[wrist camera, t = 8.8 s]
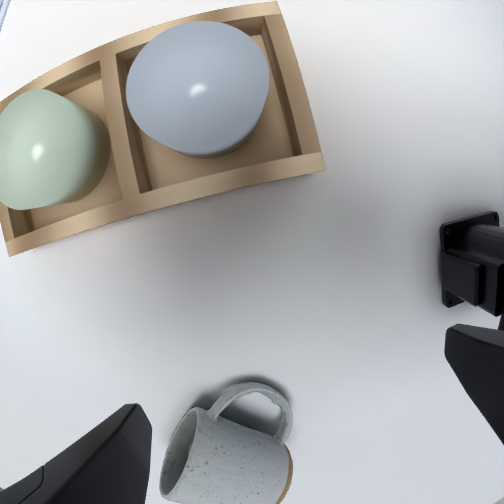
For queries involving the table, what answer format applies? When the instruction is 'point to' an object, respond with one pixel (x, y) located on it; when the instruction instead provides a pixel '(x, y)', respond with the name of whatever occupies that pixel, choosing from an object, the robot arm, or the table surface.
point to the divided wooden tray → (157, 154)
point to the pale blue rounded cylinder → (199, 88)
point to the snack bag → (3, 10)
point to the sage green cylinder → (50, 151)
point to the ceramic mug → (228, 456)
